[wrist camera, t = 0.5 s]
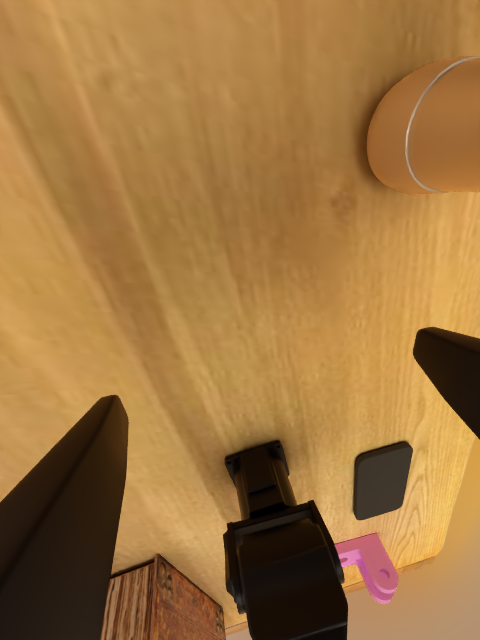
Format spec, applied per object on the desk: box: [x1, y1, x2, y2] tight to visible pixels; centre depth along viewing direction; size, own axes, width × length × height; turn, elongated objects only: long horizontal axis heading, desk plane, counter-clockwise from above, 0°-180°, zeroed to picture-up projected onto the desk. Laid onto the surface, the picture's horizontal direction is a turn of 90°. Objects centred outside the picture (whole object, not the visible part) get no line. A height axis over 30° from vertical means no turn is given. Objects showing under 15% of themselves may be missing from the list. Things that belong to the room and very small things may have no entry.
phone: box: [354, 443, 413, 520], centre depth 39 cm, size 7×1×15 cm
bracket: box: [335, 533, 398, 604], centre depth 46 cm, size 13×6×7 cm, turn 96°
